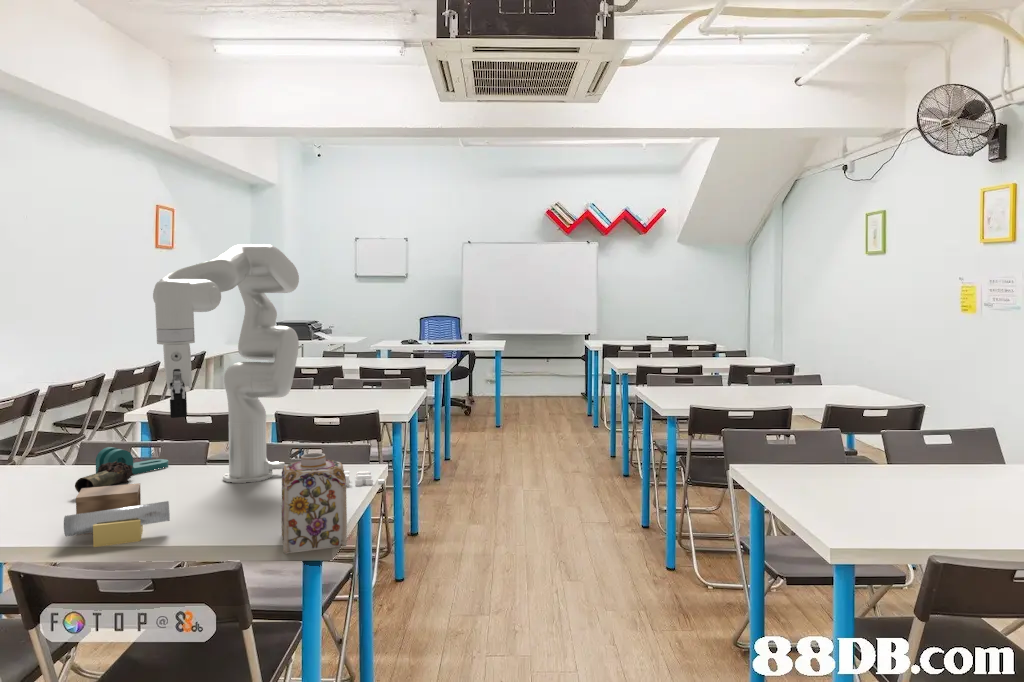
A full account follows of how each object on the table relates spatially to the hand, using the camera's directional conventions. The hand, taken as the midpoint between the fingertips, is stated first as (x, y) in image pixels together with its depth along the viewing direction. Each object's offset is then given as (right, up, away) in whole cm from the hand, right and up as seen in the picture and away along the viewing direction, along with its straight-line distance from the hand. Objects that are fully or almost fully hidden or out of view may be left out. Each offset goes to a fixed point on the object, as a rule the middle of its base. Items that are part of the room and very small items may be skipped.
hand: (179, 413), depth 153 cm
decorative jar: (+35, -24, -17) cm, 46 cm away
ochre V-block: (-4, -24, -16) cm, 29 cm away
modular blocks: (+35, -23, +28) cm, 50 cm away
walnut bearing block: (-11, -23, -8) cm, 27 cm away
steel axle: (-4, -19, -16) cm, 25 cm away
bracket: (-32, -22, +42) cm, 57 cm away
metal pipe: (-30, -25, +18) cm, 43 cm away
